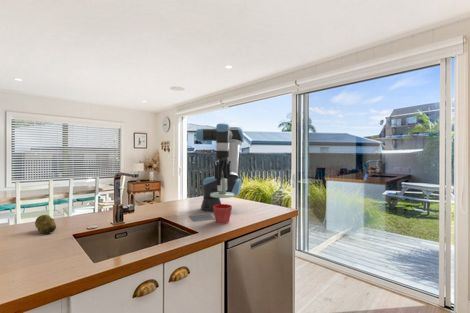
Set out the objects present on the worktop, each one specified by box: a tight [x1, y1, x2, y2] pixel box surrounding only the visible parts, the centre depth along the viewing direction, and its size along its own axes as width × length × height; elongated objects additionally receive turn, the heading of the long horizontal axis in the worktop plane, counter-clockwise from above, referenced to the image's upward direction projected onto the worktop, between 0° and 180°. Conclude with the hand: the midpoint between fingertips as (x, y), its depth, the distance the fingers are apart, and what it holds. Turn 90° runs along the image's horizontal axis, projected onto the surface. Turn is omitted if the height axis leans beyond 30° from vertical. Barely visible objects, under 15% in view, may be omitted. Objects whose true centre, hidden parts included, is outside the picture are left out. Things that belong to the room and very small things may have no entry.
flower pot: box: [213, 203, 233, 225], centre depth 147 cm, size 11×11×10 cm
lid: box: [210, 177, 235, 199], centre depth 146 cm, size 14×14×10 cm
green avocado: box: [34, 214, 57, 234], centre depth 128 cm, size 8×13×8 cm, turn 39°
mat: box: [188, 213, 216, 222], centre depth 156 cm, size 14×14×1 cm
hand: (222, 190), depth 146 cm, fingers closed on lid, 4 cm apart
